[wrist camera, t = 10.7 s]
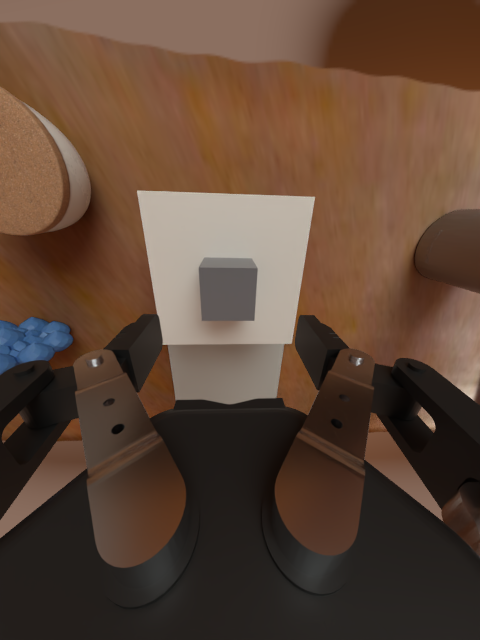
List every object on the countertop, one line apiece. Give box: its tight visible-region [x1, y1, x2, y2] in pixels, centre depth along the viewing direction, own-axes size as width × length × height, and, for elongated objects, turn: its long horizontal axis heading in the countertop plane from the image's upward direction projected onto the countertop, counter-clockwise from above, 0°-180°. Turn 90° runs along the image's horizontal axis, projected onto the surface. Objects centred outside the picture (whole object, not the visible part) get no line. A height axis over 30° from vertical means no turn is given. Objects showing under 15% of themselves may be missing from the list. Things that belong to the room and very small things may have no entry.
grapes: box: [0, 317, 74, 375], centre depth 26 cm, size 12×7×12 cm, turn 79°
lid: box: [137, 191, 315, 345], centre depth 19 cm, size 15×15×6 cm
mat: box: [168, 344, 284, 404], centre depth 36 cm, size 19×19×1 cm
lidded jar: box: [0, 87, 91, 236], centre depth 19 cm, size 11×11×9 cm
